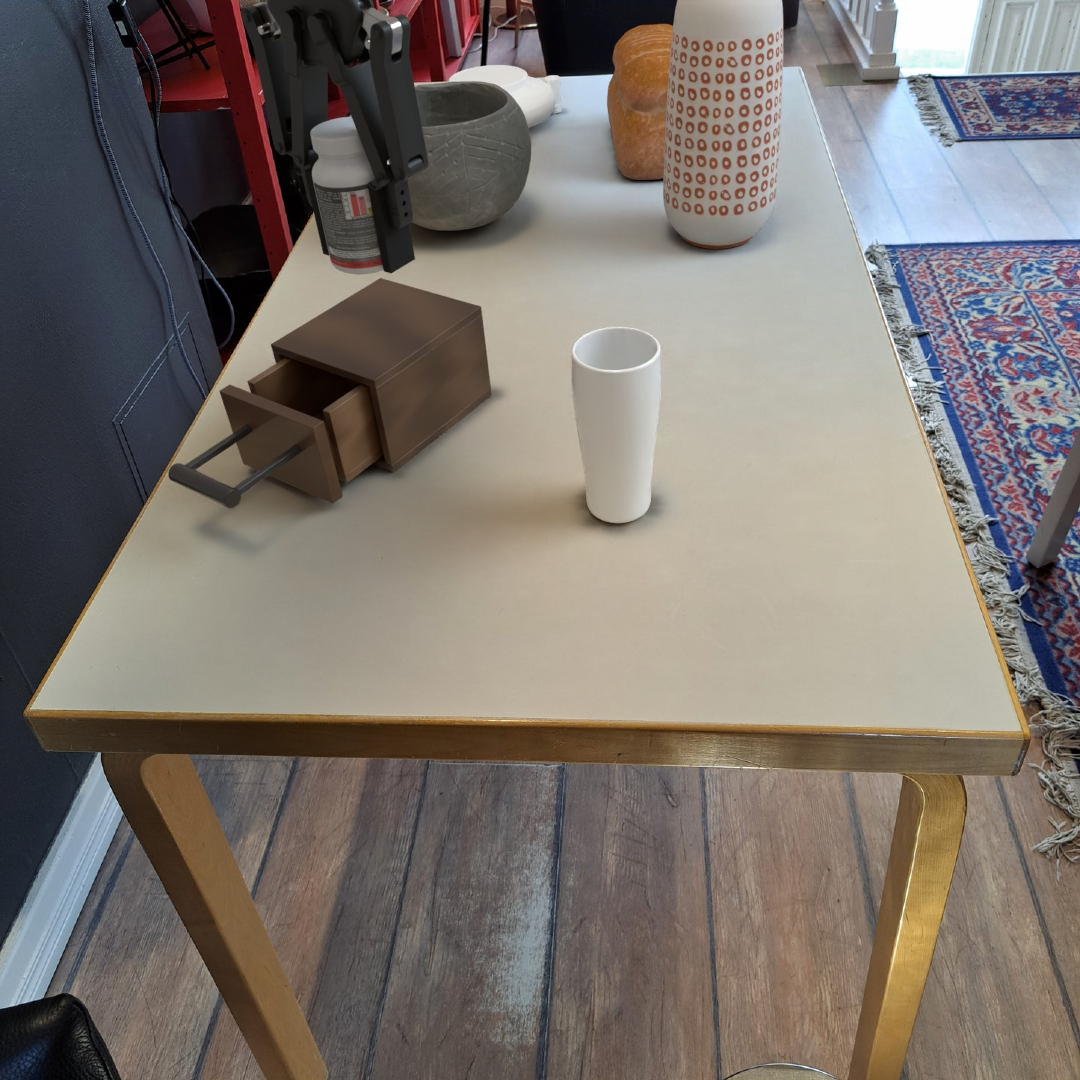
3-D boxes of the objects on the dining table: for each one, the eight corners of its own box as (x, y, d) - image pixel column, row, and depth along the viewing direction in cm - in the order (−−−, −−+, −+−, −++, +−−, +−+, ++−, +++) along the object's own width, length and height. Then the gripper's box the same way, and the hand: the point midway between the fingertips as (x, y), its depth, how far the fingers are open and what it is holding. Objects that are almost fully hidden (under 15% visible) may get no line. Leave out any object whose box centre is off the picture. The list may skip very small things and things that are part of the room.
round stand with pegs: (443, 161, 146) (436, 112, 141) (400, 116, 163) (393, 71, 159) (590, 131, 152) (589, 82, 147) (534, 90, 169) (531, 45, 164)
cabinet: (393, 472, 88) (374, 380, 82) (295, 433, 94) (270, 344, 87) (491, 395, 96) (481, 306, 90) (396, 363, 102) (380, 277, 96)
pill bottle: (414, 266, 74) (392, 131, 68) (340, 283, 73) (311, 147, 66) (394, 238, 78) (371, 108, 72) (324, 254, 77) (295, 123, 70)
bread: (691, 116, 154) (694, 9, 144) (714, 179, 134) (720, 59, 124) (605, 122, 154) (602, 16, 144) (615, 186, 134) (613, 67, 124)
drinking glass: (615, 543, 78) (612, 382, 69) (561, 505, 83) (551, 348, 73) (676, 506, 81) (681, 347, 72) (621, 471, 86) (618, 316, 76)
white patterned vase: (751, 265, 114) (771, -7, 95) (645, 248, 119) (645, -12, 101) (787, 220, 122) (812, -38, 104) (686, 206, 128) (693, -41, 109)
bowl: (520, 257, 119) (509, 131, 110) (356, 256, 123) (331, 133, 113) (548, 190, 135) (541, 74, 125) (402, 190, 139) (384, 77, 129)
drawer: (260, 560, 79) (234, 483, 73) (169, 514, 84) (139, 439, 79) (434, 425, 91) (422, 352, 86) (346, 393, 97) (329, 322, 92)
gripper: (454, -106, 58) (494, 262, 73) (244, -113, 67) (318, 216, 82) (367, -82, 54) (428, 304, 69) (154, -93, 63) (250, 251, 78)
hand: (368, 256), depth 75 cm, fingers closed on pill bottle, 6 cm apart
